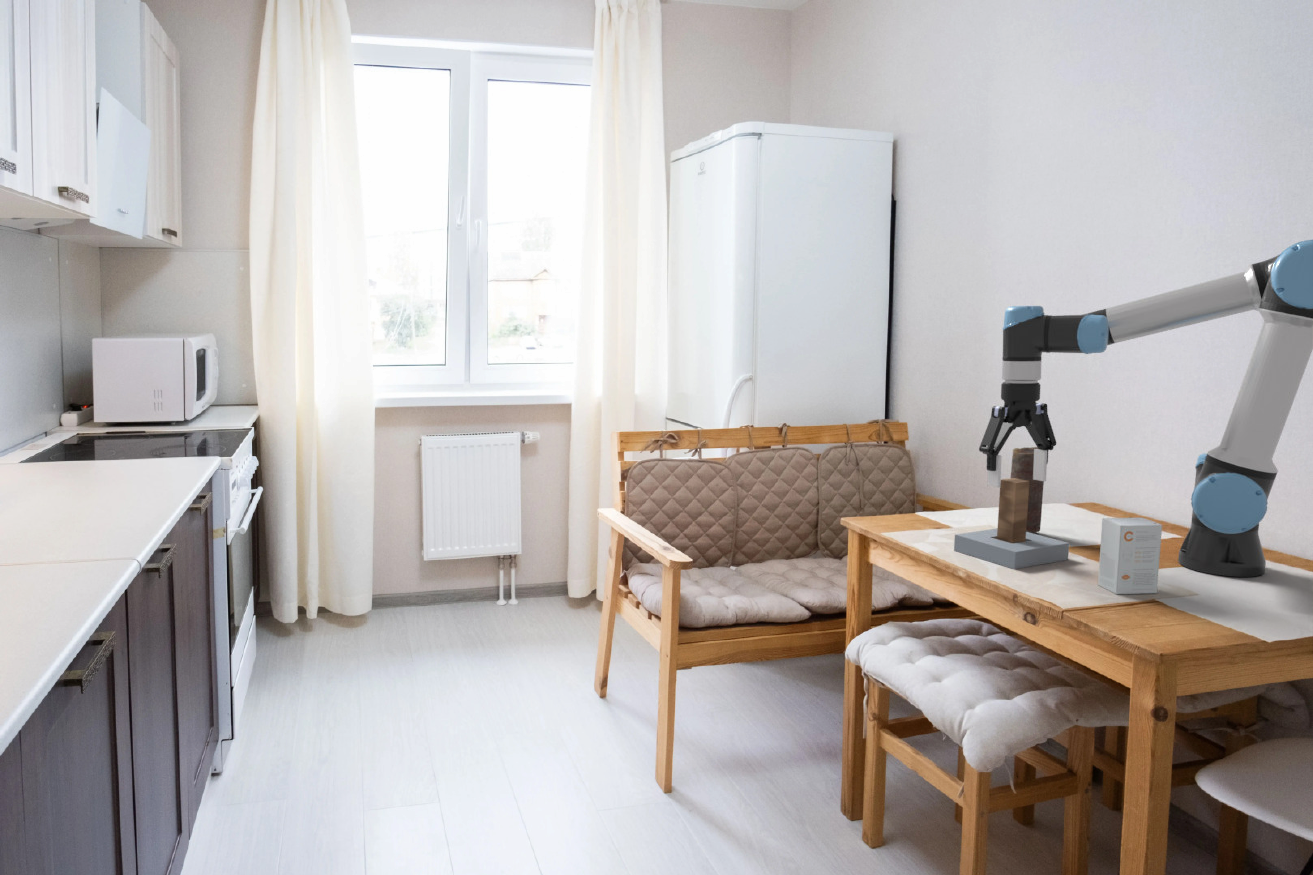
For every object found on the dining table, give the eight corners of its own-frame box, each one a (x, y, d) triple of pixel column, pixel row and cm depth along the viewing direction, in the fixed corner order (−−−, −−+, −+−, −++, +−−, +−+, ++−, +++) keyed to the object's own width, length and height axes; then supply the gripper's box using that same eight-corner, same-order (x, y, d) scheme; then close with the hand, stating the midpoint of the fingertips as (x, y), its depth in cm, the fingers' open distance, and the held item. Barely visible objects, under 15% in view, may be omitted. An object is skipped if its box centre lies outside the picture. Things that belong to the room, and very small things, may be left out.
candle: (1045, 537, 214) (1051, 450, 211) (1012, 537, 214) (1018, 450, 211) (1032, 529, 221) (1038, 445, 219) (1001, 529, 222) (1006, 445, 219)
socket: (1068, 559, 196) (1069, 543, 195) (1014, 569, 188) (1015, 552, 187) (1006, 542, 209) (1007, 526, 209) (953, 550, 202) (954, 534, 201)
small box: (1136, 583, 179) (1142, 516, 177) (1157, 594, 172) (1163, 524, 171) (1096, 584, 178) (1101, 517, 176) (1115, 595, 172) (1121, 525, 170)
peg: (1024, 556, 198) (1029, 481, 196) (1011, 558, 196) (1015, 482, 194) (1009, 551, 201) (1013, 478, 199) (995, 553, 200) (1000, 479, 197)
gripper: (1047, 378, 203) (1043, 475, 205) (963, 383, 191) (959, 486, 194) (1077, 379, 196) (1072, 480, 199) (992, 385, 184) (988, 491, 187)
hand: (1017, 483), depth 196 cm, fingers open, 13 cm apart
